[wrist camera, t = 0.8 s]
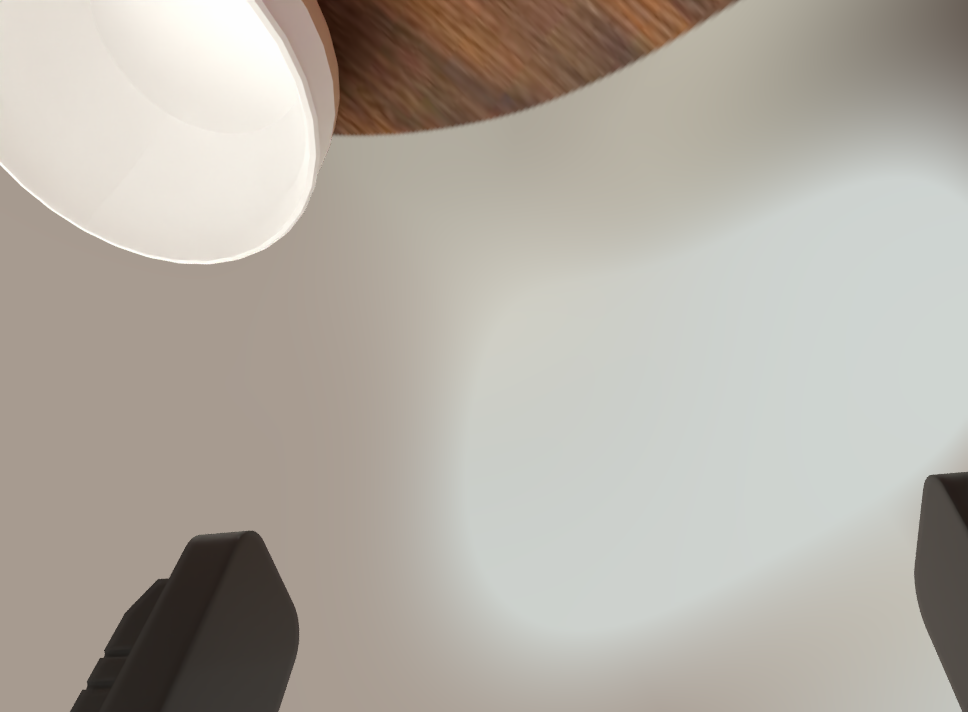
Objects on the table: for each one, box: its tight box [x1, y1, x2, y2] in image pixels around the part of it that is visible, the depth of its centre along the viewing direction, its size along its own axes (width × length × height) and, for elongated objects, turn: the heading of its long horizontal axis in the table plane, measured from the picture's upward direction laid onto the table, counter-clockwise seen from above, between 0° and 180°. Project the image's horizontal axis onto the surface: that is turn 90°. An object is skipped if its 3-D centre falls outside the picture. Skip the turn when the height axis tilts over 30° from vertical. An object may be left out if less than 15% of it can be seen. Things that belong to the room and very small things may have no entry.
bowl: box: [0, 0, 340, 264], centre depth 35 cm, size 16×16×8 cm
